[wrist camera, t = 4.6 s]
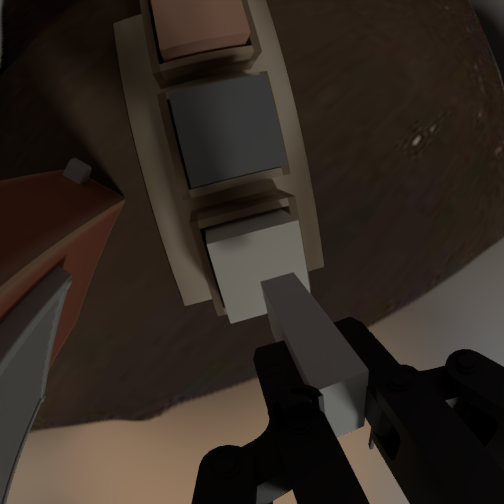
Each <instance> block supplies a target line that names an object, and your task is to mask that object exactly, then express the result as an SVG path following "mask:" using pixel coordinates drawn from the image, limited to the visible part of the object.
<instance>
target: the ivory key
mask: <svg viewBox="0 0 504 504" xmlns="http://www.w3.org/2000/svg"><path fill="white" fill-rule="evenodd" d="M205 231H206V242H207V247H208V251H209V254H210V258H211V261H212V264H213V268H214V271H215V274H216V278H217V281H218V284H219V288H220V291H221V294H222V298H223V301H224V304H225V307H226V310H227V314H228V317H229V320H230V323H235V322H238V321H242V320H245V319H249V318H252V317H256V316H259V315H263V314H266V313H267V308H266V304H265V300H264V296H263V291H262V287H261V283H260V282H261V281H264V280H268V279H271V278H275V277H278V276H282V275H285V274H289V273H292V272H294V273H295V275H296V276H297V277H298V279H299V280H300V281H301V282H302V284H303V285H304V286H305V287H306V289H307V290H308V291H309V293H310V287H309V281H308V274H307V268H306V261H305V255H304V249H303V243H302V237H301V232H300V226H299V220H298V219H296V218H295V217H293V216H292V215H290V214H288V213H287V212H285V211H284V210H282V209H281V208H277V209H273V210H269V211H265V212H261V213H257V214H254V215H250V216H246V217H242V218H238V219H234V220H231V221H227V222H223V223H219V224H216V225H212V226H208V227H205Z"/></svg>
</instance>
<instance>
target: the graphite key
mask: <svg viewBox="0 0 504 504" xmlns="http://www.w3.org/2000/svg"><path fill="white" fill-rule="evenodd" d="M169 99H170V103H171V108H172V112H173V116H174V121H175V125H176V129H177V133H178V138H179V142H180V146H181V150H182V154H183V158H184V162H185V166H186V170H187V174H188V178H189V181H190V185H191V188H194V187H198V186H202V185H205V184H209V183H213V182H217V181H221V180H225V179H229V178H233V177H237V176H241V175H245V174H249V173H253V172H258V171H262V170H267V169H271V168H276V167H280V166H285V165H288V163H287V158H286V154H285V149H284V144H283V140H282V135H281V131H280V126H279V122H278V118H277V113H276V109H275V105H274V101H273V96H272V92H271V88H270V84H269V80H268V76H267V73H266V74H259V75H252V76H246V77H240V78H234V79H229V80H224V81H219V82H214V83H209V84H205V85H200V86H196V87H192V88H188V89H184V90H180V91H176V92H173V93H169Z"/></svg>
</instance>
